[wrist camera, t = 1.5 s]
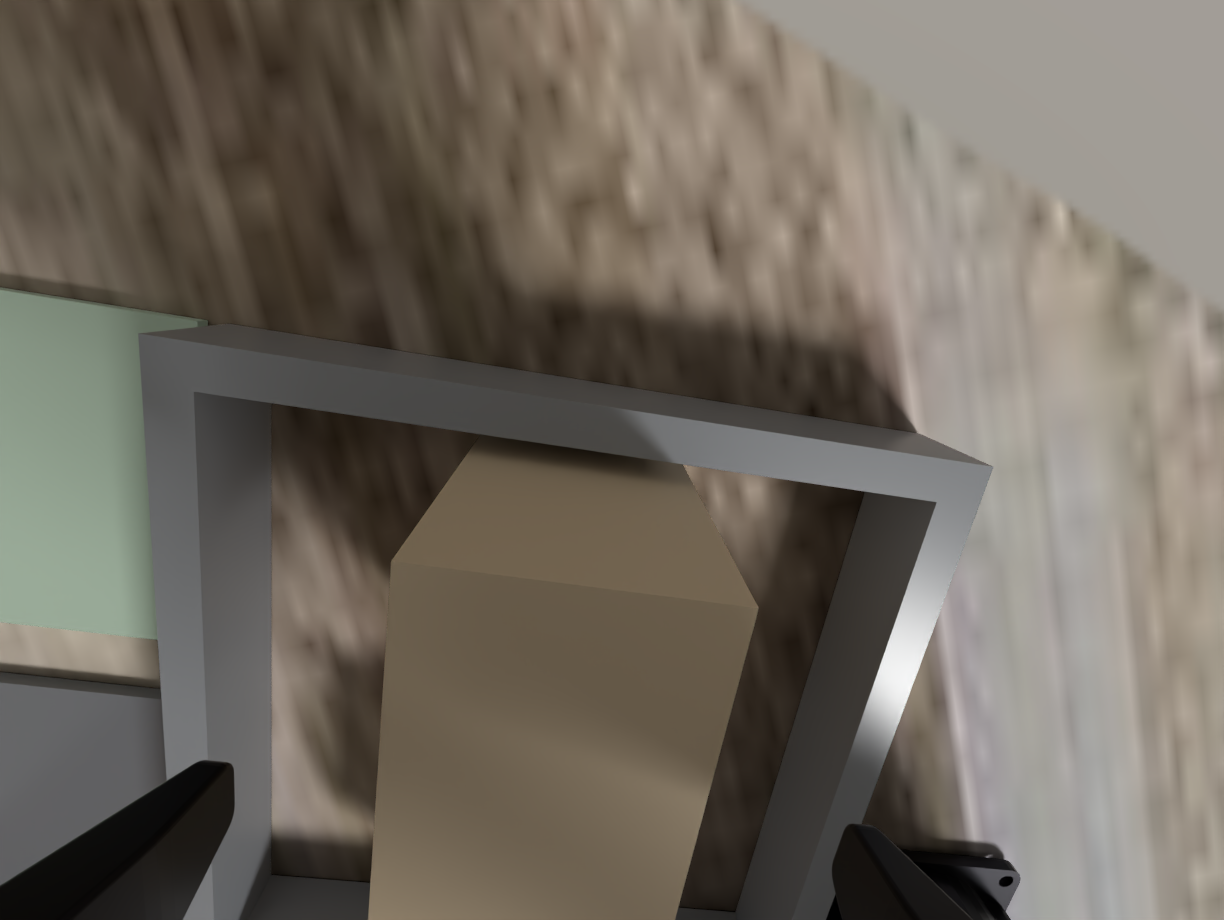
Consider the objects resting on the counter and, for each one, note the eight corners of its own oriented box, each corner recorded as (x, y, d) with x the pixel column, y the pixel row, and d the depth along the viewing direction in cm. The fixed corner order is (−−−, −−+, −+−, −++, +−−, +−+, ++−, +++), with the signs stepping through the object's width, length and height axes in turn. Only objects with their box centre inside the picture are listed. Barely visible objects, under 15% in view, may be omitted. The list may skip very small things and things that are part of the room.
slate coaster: (219, 695, 17) (210, 704, 17) (225, 915, 20) (218, 927, 19) (-113, 660, 16) (-130, 669, 16) (-62, 893, 19) (-75, 906, 19)
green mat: (208, 320, 14) (197, 321, 14) (217, 637, 17) (208, 645, 16) (-201, 255, 13) (-225, 254, 13) (-126, 598, 16) (-144, 606, 15)
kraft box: (674, 450, 16) (758, 608, 8) (630, 668, 18) (663, 962, 10) (489, 422, 15) (391, 560, 8) (464, 649, 17) (366, 942, 10)
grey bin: (919, 433, 16) (993, 466, 13) (756, 934, 21) (782, 1037, 18) (228, 323, 14) (138, 333, 11) (240, 894, 19) (180, 999, 17)
